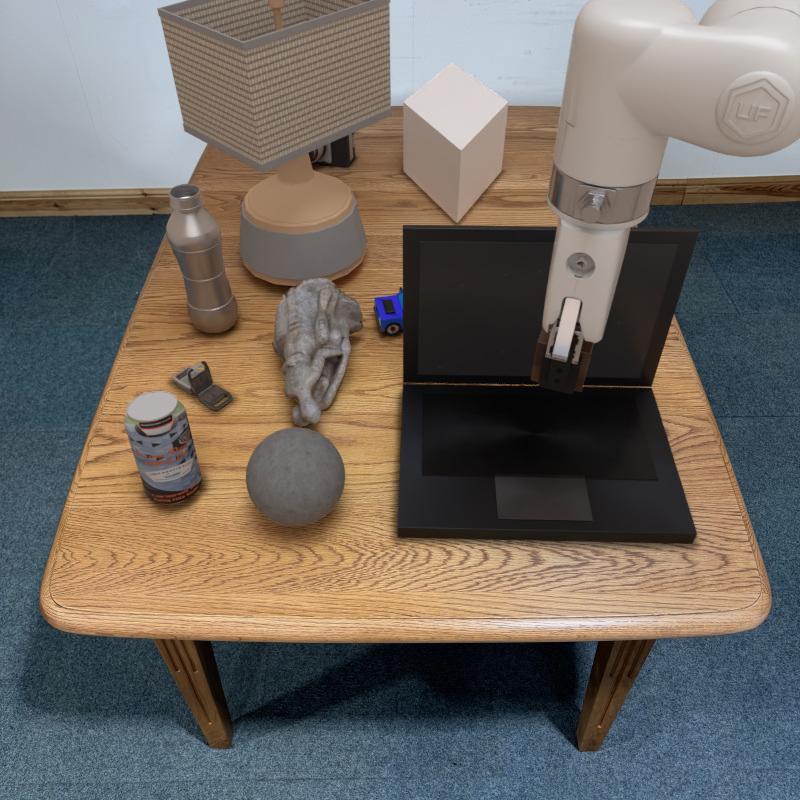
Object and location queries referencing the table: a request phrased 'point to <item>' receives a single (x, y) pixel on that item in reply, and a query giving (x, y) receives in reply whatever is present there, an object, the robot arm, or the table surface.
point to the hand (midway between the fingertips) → (562, 367)
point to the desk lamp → (284, 115)
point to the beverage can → (163, 447)
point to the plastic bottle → (200, 260)
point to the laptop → (538, 466)
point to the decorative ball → (295, 476)
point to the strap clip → (201, 385)
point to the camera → (335, 152)
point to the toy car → (389, 313)
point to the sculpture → (314, 344)
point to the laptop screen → (528, 303)
